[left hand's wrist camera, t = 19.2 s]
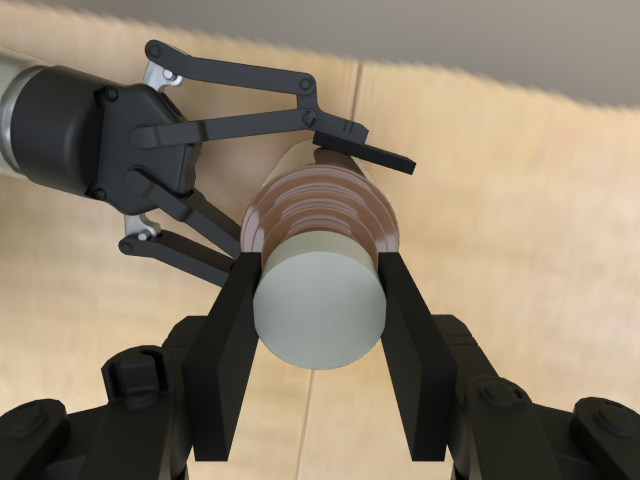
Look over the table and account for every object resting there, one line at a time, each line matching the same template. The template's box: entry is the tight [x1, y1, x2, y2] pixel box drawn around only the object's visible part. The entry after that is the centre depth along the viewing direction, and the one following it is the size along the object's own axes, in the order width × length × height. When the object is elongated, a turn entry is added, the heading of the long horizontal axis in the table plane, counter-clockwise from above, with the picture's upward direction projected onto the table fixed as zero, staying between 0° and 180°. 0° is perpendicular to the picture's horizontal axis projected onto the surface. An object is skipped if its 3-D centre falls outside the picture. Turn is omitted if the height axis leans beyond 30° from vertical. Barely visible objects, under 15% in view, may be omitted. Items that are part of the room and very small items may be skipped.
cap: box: [253, 231, 386, 370], centre depth 14 cm, size 4×4×2 cm
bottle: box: [240, 139, 399, 271], centre depth 22 cm, size 8×8×20 cm
